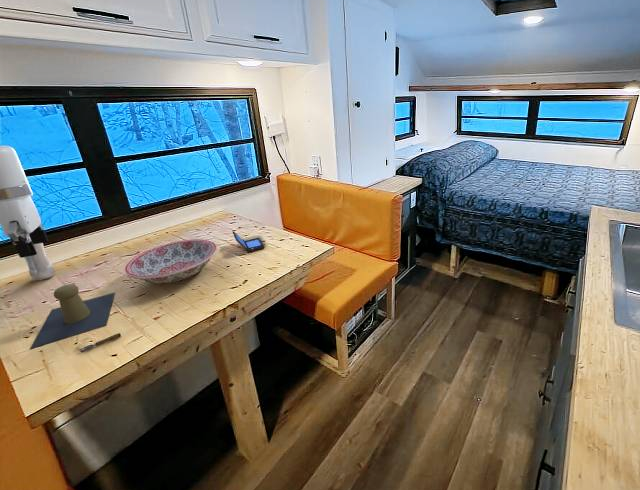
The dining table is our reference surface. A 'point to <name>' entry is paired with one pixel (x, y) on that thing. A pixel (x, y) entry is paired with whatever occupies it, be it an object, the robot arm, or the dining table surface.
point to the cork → (71, 304)
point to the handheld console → (249, 243)
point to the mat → (60, 330)
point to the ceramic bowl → (171, 261)
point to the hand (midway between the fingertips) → (35, 249)
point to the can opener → (102, 341)
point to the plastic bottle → (39, 263)
